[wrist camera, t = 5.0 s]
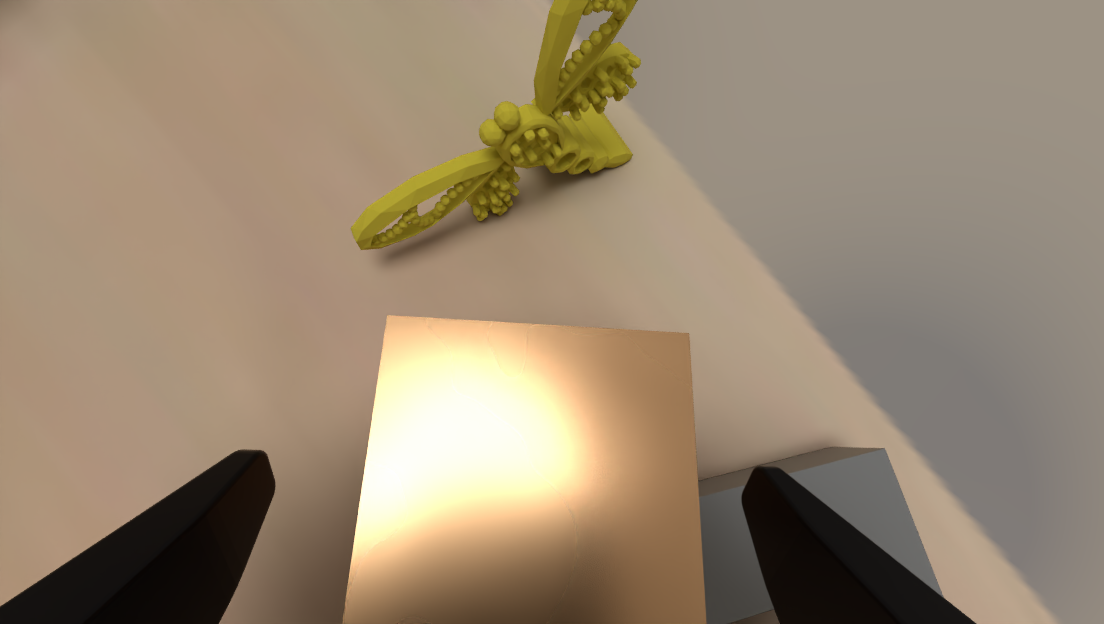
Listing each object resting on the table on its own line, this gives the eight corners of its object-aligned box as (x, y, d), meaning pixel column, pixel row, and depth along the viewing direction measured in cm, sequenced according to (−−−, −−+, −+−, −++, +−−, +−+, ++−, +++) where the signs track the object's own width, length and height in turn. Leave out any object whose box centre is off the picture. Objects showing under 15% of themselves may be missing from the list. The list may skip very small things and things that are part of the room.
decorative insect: (517, 264, 23) (354, 264, 15) (488, 216, 24) (316, 189, 15) (733, 77, 18) (674, -108, 9) (688, 20, 18) (590, -206, 9)
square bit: (557, 503, 15) (711, 686, 4) (460, 501, 15) (330, 696, 4) (559, 406, 16) (689, 333, 5) (469, 403, 16) (387, 314, 5)
